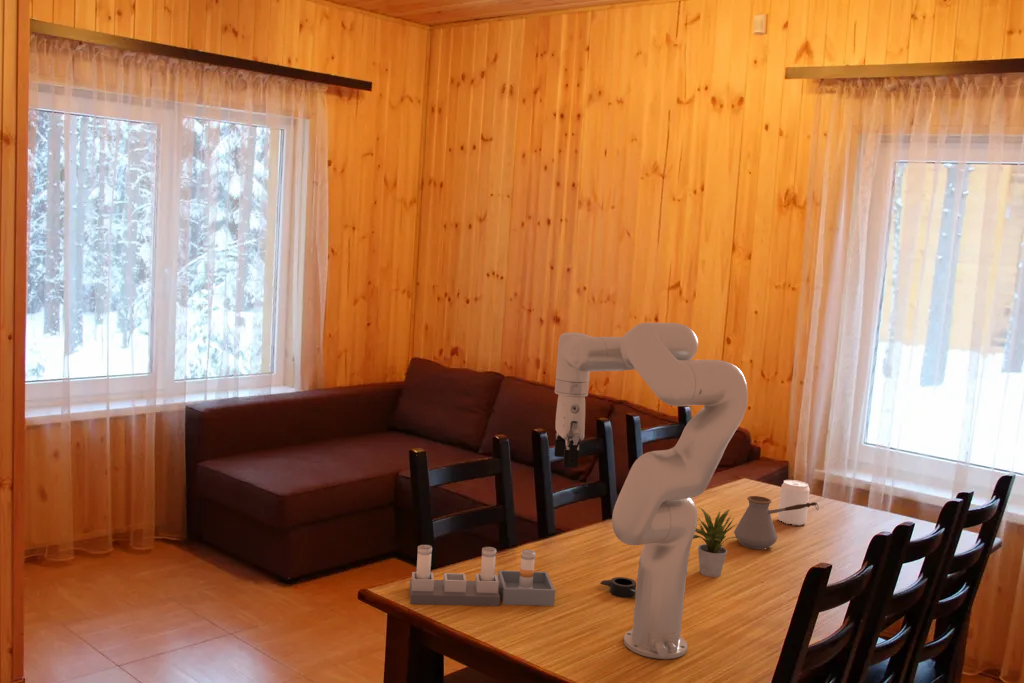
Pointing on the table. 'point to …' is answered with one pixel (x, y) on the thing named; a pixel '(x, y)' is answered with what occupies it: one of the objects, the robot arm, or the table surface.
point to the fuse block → (454, 590)
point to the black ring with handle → (621, 587)
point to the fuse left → (423, 562)
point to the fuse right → (488, 564)
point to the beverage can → (793, 502)
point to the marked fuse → (527, 569)
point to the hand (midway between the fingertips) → (565, 461)
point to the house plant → (712, 544)
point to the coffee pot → (760, 523)
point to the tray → (520, 596)
